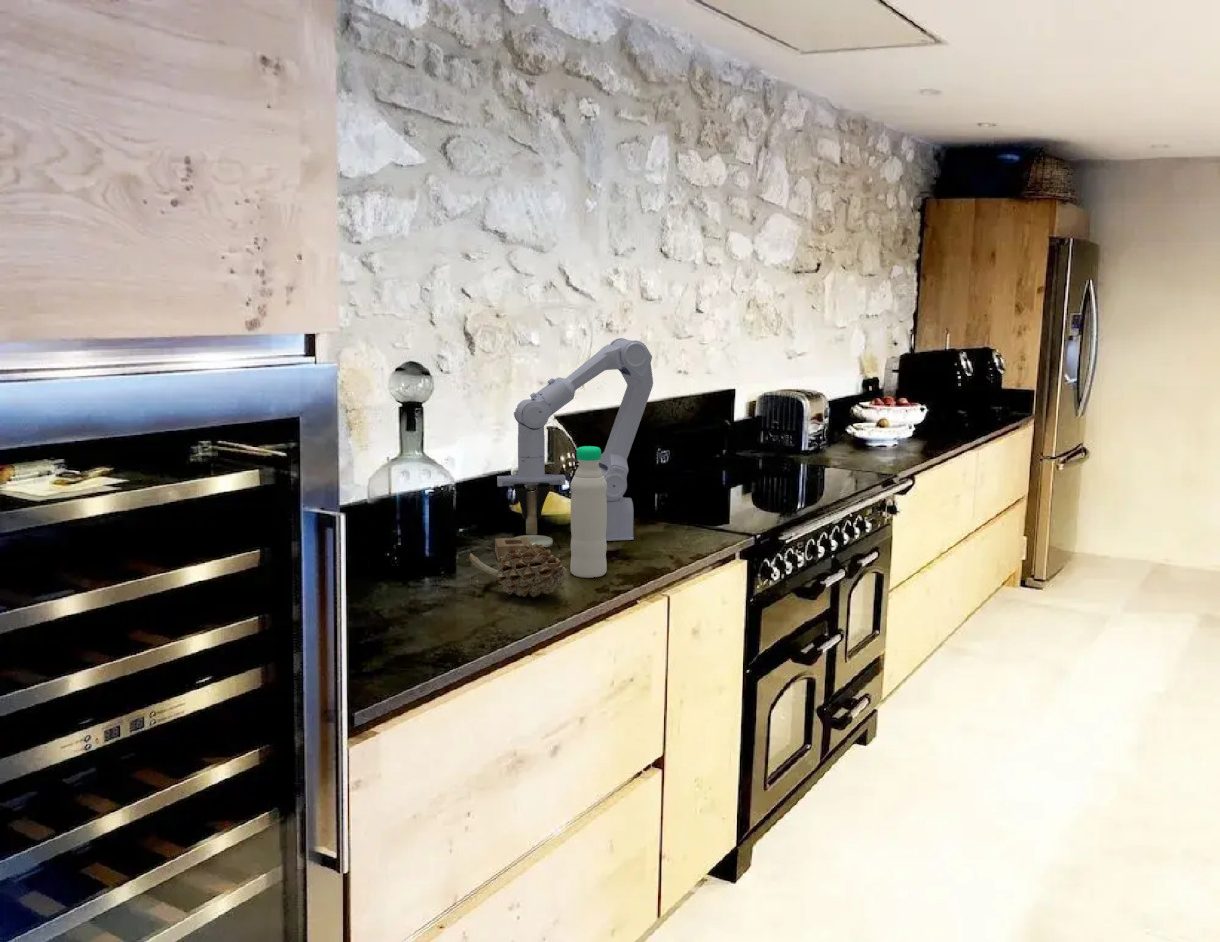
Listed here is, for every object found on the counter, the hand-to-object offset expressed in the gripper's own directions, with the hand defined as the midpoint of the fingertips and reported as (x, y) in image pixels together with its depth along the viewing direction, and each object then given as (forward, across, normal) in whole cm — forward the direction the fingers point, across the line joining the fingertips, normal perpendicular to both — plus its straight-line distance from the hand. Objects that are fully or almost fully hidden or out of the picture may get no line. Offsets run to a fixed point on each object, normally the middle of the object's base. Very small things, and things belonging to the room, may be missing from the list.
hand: (531, 518), depth 235 cm
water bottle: (+6, -8, +26) cm, 28 cm away
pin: (+3, 0, 0) cm, 3 cm away
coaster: (+6, 0, 0) cm, 6 cm away
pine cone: (+6, +8, +37) cm, 38 cm away
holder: (+6, +5, +10) cm, 13 cm away
